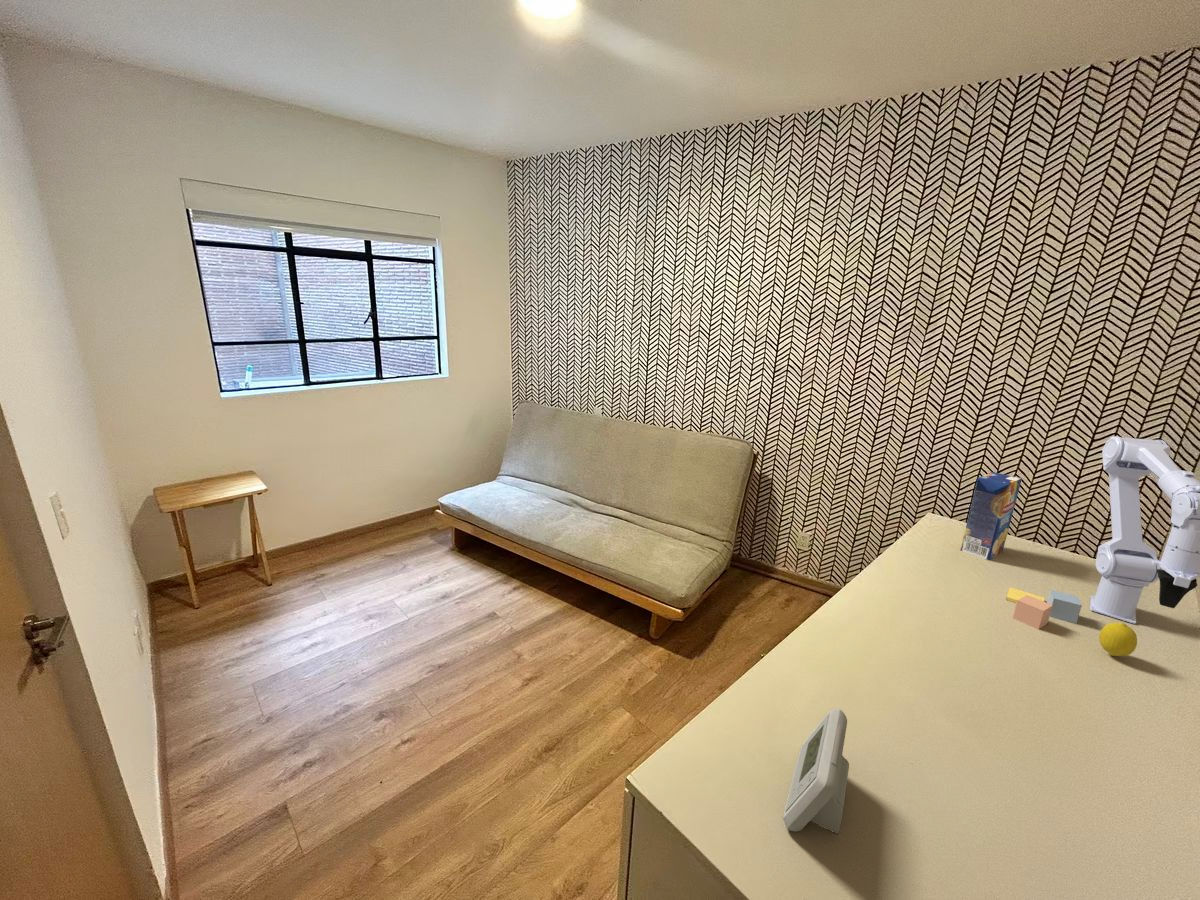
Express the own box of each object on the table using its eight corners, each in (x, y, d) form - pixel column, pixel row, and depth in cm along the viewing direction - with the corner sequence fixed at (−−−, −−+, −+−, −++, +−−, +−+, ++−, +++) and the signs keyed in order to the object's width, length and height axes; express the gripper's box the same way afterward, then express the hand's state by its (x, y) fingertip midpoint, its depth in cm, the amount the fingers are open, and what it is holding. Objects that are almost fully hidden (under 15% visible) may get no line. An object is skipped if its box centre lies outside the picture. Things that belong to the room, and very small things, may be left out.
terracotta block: (1021, 612, 122) (1027, 594, 121) (1047, 623, 118) (1052, 605, 117) (1012, 618, 120) (1017, 600, 118) (1038, 629, 115) (1043, 610, 114)
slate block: (1045, 607, 125) (1050, 589, 124) (1072, 614, 122) (1077, 596, 121) (1048, 616, 121) (1053, 598, 120) (1075, 623, 118) (1081, 605, 117)
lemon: (1137, 666, 104) (1150, 633, 102) (1107, 662, 105) (1118, 629, 103) (1117, 649, 109) (1128, 617, 107) (1087, 645, 110) (1098, 614, 108)
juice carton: (988, 560, 149) (1008, 485, 142) (960, 550, 154) (977, 477, 148) (1002, 550, 155) (1022, 478, 149) (975, 541, 161) (992, 471, 155)
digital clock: (804, 746, 82) (813, 692, 79) (863, 780, 76) (875, 723, 73) (760, 814, 70) (769, 754, 68) (826, 861, 64) (838, 797, 62)
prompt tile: (1009, 589, 132) (1010, 587, 132) (1043, 600, 128) (1044, 597, 127) (1005, 599, 128) (1006, 596, 127) (1041, 611, 123) (1042, 608, 123)
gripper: (1156, 532, 112) (1138, 587, 115) (1161, 551, 102) (1141, 610, 105) (1204, 543, 107) (1184, 599, 110) (1214, 563, 97) (1191, 624, 100)
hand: (1166, 605), depth 107 cm, fingers closed
